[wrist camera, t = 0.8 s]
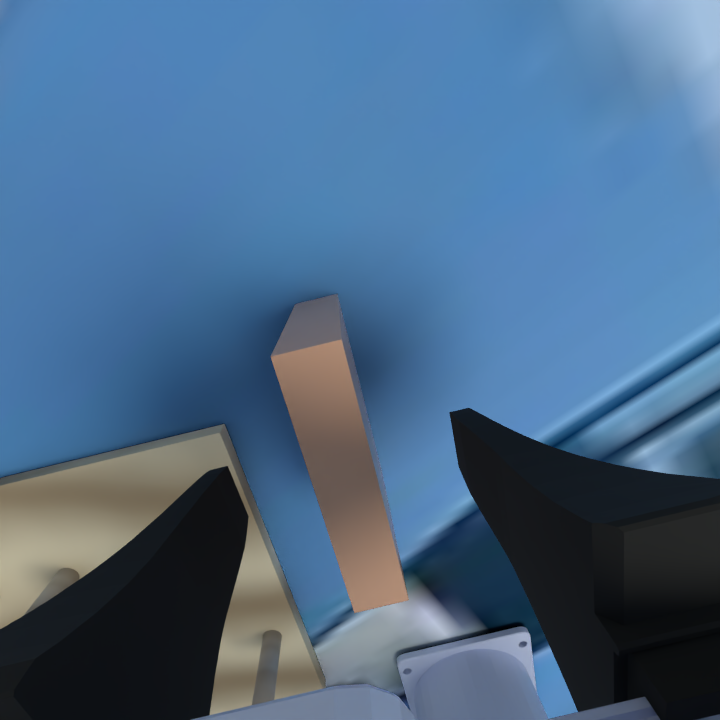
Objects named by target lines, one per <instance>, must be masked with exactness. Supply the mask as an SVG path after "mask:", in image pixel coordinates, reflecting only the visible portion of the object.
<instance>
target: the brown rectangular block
mask: <svg viewBox="0 0 720 720" xmlns="http://www.w3.org/2000/svg"><path fill="white" fill-rule="evenodd" d="M271 360H272V363H273V366H274V369H275V372H276V375H277V378H278V381H279V384H280V387H281V390H282V393H283V396H284V399H285V402H286V405H287V408H288V411H289V415H290V418H291V421H292V424H293V427H294V430H295V433H296V436H297V439H298V442H299V445H300V448H301V451H302V454H303V457H304V460H305V463H306V466H307V469H308V473H309V476H310V479H311V482H312V485H313V488H314V491H315V494H316V497H317V500H318V503H319V506H320V509H321V512H322V515H323V518H324V521H325V524H326V527H327V531H328V534H329V537H330V540H331V543H332V546H333V549H334V552H335V555H336V558H337V561H338V564H339V567H340V570H341V573H342V576H343V579H344V582H345V585H346V589H347V592H348V595H349V598H350V601H351V604H352V607H353V610H354V613H357V612H361V611H365V610H369V609H374V608H378V607H382V606H386V605H390V604H395V603H399V602H403V601H407V600H409V599H408V594H407V589H406V584H405V580H404V575H403V570H402V565H401V560H400V556H399V551H398V546H397V541H396V536H395V532H394V527H393V522H392V517H391V512H390V508H389V503H388V498H387V493H386V488H385V484H384V479H383V474H382V470H381V466H380V462H379V458H378V454H377V450H376V446H375V442H374V438H373V434H372V430H371V426H370V422H369V418H368V414H367V410H366V406H365V402H364V398H363V394H362V390H361V386H360V382H359V378H358V374H357V370H356V366H355V362H354V358H353V354H352V350H351V346H350V342H349V338H348V334H347V330H346V326H345V322H344V318H343V314H342V310H341V306H340V302H339V298H338V294H334V295H330V296H326V297H322V298H318V299H314V300H310V301H306V302H301V303H297V304H295V306H294V308H293V310H292V312H291V314H290V316H289V318H288V321H287V323H286V325H285V327H284V329H283V331H282V333H281V335H280V338H279V340H278V342H277V344H276V346H275V348H274V350H273V352H272V355H271Z"/></svg>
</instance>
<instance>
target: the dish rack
mask: <svg viewBox="0 0 720 720" xmlns="http://www.w3.org/2000/svg"><path fill="white" fill-rule="evenodd" d="M225 466H228V468H229V470H230V472H231V475H232V477H233V480H234V482H235V485H236V487H237V489H238V492H239V494H240V497H241V499H242V502H243V504H244V506H245V509H246V511H247V514H248V516H249V518H248V528H247V536H246V543H245V549H244V553H243V557H242V561H241V565H240V568H239V572H238V576H237V580H236V583H235V587H234V591H233V594H232V598H231V602H230V605H229V609H228V613H227V616H226V620H225V624H224V629H223V633H222V638H221V643H220V649H219V655H218V661H217V667H216V673H215V680H214V687H213V694H212V701H211V708H210V715H213V714H217V713H221V712H225V711H230V710H234V709H238V708H242V707H247V706H251V705H255V704H259V703H264V702H268V701H272V700H276V699H281V698H285V697H289V696H293V695H298V694H302V693H306V692H310V691H315V690H319V689H323V688H325V677H324V675H323V672H322V669H321V667H320V664H319V662H318V659H317V657H316V654H315V652H314V649H313V647H312V644H311V642H310V639H309V637H308V634H307V631H306V629H305V626H304V624H303V621H302V619H301V616H300V614H299V611H298V609H297V606H296V604H295V601H294V599H293V596H292V593H291V591H290V588H289V586H288V583H287V581H286V578H285V576H284V573H283V571H282V568H281V566H280V563H279V561H278V558H277V555H276V553H275V550H274V548H273V545H272V543H271V540H270V538H269V535H268V533H267V530H266V528H265V525H264V522H263V520H262V517H261V515H260V512H259V510H258V507H257V505H256V502H255V500H254V497H253V495H252V492H251V490H250V487H249V484H248V482H247V479H246V477H245V474H244V472H243V469H242V467H241V464H240V462H239V459H238V457H237V454H236V452H235V449H234V446H233V444H232V441H231V439H230V436H229V434H228V431H227V429H226V426H225V424H222V425H218V426H214V427H210V428H205V429H201V430H197V431H193V432H189V433H185V434H181V435H176V436H172V437H168V438H164V439H160V440H156V441H152V442H147V443H143V444H139V445H135V446H131V447H127V448H123V449H118V450H114V451H110V452H106V453H102V454H98V455H94V456H89V457H85V458H81V459H77V460H73V461H69V462H65V463H60V464H56V465H52V466H48V467H44V468H40V469H36V470H31V471H27V472H23V473H19V474H15V475H11V476H7V477H2V478H0V629H2V628H3V627H5V626H7V625H8V624H10V623H12V622H14V621H15V620H17V619H19V618H20V617H22V616H24V615H25V614H27V613H29V612H30V611H32V610H34V609H35V608H37V607H38V606H40V605H42V604H43V603H45V602H46V601H48V600H50V599H51V598H53V597H54V596H56V595H57V594H59V593H60V592H62V591H63V590H64V589H66V588H67V587H69V586H70V585H72V584H73V583H75V582H76V581H78V580H79V579H81V578H82V577H84V576H85V575H87V574H88V573H89V572H91V571H92V570H94V569H95V568H96V567H98V566H99V565H100V564H102V563H103V562H104V561H106V560H107V559H108V558H110V557H111V556H112V555H113V554H115V553H116V552H117V551H119V550H120V549H121V548H122V547H124V546H125V545H126V544H127V543H128V542H130V541H131V540H132V539H133V538H134V537H135V536H137V535H138V534H139V533H140V532H141V531H142V530H143V529H145V528H146V527H147V526H148V525H149V524H150V523H151V522H153V521H154V520H155V519H156V518H157V517H158V516H159V515H160V514H162V513H163V512H164V511H165V510H166V509H167V508H168V507H169V506H170V505H171V504H172V503H173V502H174V501H175V500H176V499H177V498H179V497H180V496H181V495H182V494H183V493H184V492H185V491H186V490H187V489H188V488H189V487H190V486H191V485H192V484H193V483H195V482H196V481H197V480H198V479H199V478H200V477H201V476H203V475H204V474H205V473H206V472H208V471H209V470H213V469H217V468H221V467H225Z"/></svg>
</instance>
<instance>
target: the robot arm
mask: <svg viewBox="0 0 720 720" xmlns="http://www.w3.org/2000/svg"><path fill="white" fill-rule="evenodd" d="M450 418H451V424H452V429H453V435H454V441H455V447H456V453H457V459H458V465H459V468H460V470H461V473H462V475H463V478H464V480H465V482H466V484H467V487H468V489H469V491H470V493H471V495H472V497H473V499H474V500H475V502H476V504H477V505H478V507H479V509H480V511H481V512H482V514H483V516H484V517H485V519H486V521H487V522H488V524H489V526H490V527H491V529H492V531H493V532H494V534H495V536H496V537H497V539H498V541H499V542H500V544H501V546H502V547H503V549H504V551H505V553H506V554H507V556H508V558H509V560H510V562H511V564H512V565H513V567H514V569H515V571H516V573H517V576H518V578H519V580H520V582H521V584H522V586H523V588H524V590H525V593H526V595H527V597H528V599H529V601H530V603H531V606H532V608H533V610H534V612H535V614H536V617H537V619H538V621H539V623H540V625H541V628H542V630H543V632H544V634H545V636H546V639H547V641H548V643H549V645H550V648H551V650H552V652H553V654H554V657H555V659H556V661H557V664H558V666H559V668H560V670H561V673H562V675H563V677H564V680H565V682H566V684H567V686H568V689H569V691H570V694H571V696H572V698H573V701H574V703H575V705H576V708H577V710H578V712H577V713H572V714H568V715H564V716H559V717H555V718H551V719H548V717H547V715H546V712H545V710H544V708H543V705H542V703H541V701H540V699H539V696H538V694H537V690H536V681H535V673H534V664H533V656H532V647H531V639H530V634H529V632H528V630H527V629H526V628H525V627H522V626H521V627H515V628H511V629H507V630H502V631H498V632H494V633H490V634H485V635H481V636H477V637H473V638H468V639H464V640H460V641H456V642H451V643H447V644H443V645H438V646H434V647H430V648H426V649H421V650H417V651H413V652H409V653H404V654H401V655H400V656H398V658H397V667H398V670H399V674H400V677H401V681H402V684H403V687H404V691H405V694H406V698H407V701H408V704H409V708H410V710H409V709H408V708H407V706H406V705H405V704H404V703H403V701H402V700H401V699H400V698H399V697H398V696H397V695H395V694H394V693H392V692H389V691H386V690H383V689H380V688H377V687H375V686H372V685H369V684H356V685H338V686H332V687H327V688H323V689H319V690H315V691H310V692H306V693H302V694H298V695H293V696H289V697H285V698H281V699H276V700H272V701H268V702H264V703H259V704H255V705H251V706H247V707H242V708H238V709H234V710H230V711H225V712H221V713H217V714H213V715H210V708H211V701H212V694H213V687H214V680H215V673H216V667H217V661H218V655H219V649H220V643H221V638H222V633H223V629H224V624H225V620H226V616H227V613H228V609H229V605H230V602H231V598H232V594H233V591H234V587H235V583H236V580H237V576H238V572H239V568H240V565H241V561H242V557H243V553H244V549H245V543H246V536H247V528H248V518H249V516H248V514H247V511H246V509H245V506H244V504H243V502H242V499H241V497H240V494H239V492H238V489H237V487H236V485H235V482H234V480H233V477H232V475H231V472H230V470H229V468H228V466H225V467H221V468H217V469H213V470H209V471H208V472H206V473H205V474H204V475H203V476H201V477H200V478H199V479H198V480H197V481H196V482H195V483H193V484H192V485H191V486H190V487H189V488H188V489H187V490H186V491H185V492H184V493H183V494H182V495H181V496H180V497H179V498H177V499H176V500H175V501H174V502H173V503H172V504H171V505H170V506H169V507H168V508H167V509H166V510H165V511H164V512H163V513H162V514H160V515H159V516H158V517H157V518H156V519H155V520H154V521H153V522H151V523H150V524H149V525H148V526H147V527H146V528H145V529H143V530H142V531H141V532H140V533H139V534H138V535H137V536H135V537H134V538H133V539H132V540H131V541H130V542H128V543H127V544H126V545H125V546H124V547H122V548H121V549H120V550H119V551H117V552H116V553H115V554H113V555H112V556H111V557H110V558H108V559H107V560H106V561H104V562H103V563H102V564H100V565H99V566H98V567H96V568H95V569H94V570H92V571H91V572H89V573H88V574H87V575H85V576H84V577H82V578H81V579H79V580H78V581H76V582H75V583H73V584H72V585H70V586H69V587H67V588H66V589H64V590H63V591H62V592H60V593H59V594H57V595H56V596H54V597H53V598H51V599H50V600H48V601H46V602H45V603H43V604H42V605H40V606H38V607H37V608H35V609H34V610H32V611H30V612H29V613H27V614H25V615H24V616H22V617H20V618H19V619H17V620H15V621H14V622H12V623H10V624H8V625H7V626H5V627H3V628H2V629H0V720H720V479H714V478H704V477H694V476H685V475H675V474H666V473H659V472H653V471H647V470H641V469H634V468H629V467H624V466H619V465H614V464H610V463H606V462H602V461H598V460H594V459H589V458H586V457H582V456H579V455H575V454H572V453H569V452H566V451H563V450H560V449H557V448H554V447H551V446H548V445H546V444H543V443H541V442H538V441H536V440H533V439H531V438H529V437H526V436H524V435H522V434H519V433H517V432H515V431H513V430H511V429H509V428H507V427H505V426H503V425H501V424H499V423H497V422H495V421H493V420H491V419H489V418H487V417H485V416H484V415H482V414H480V413H478V412H476V411H474V410H472V409H470V408H466V409H462V410H458V411H453V412H450Z"/></svg>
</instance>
